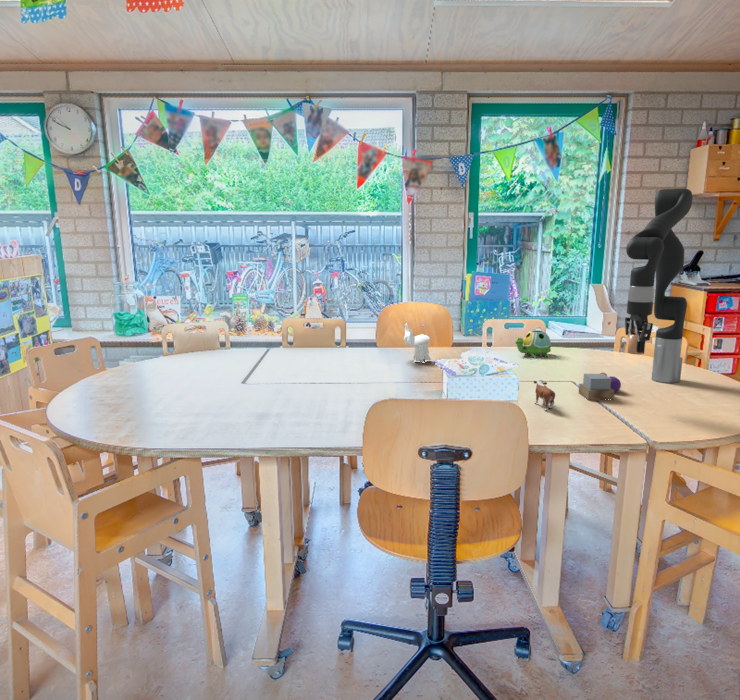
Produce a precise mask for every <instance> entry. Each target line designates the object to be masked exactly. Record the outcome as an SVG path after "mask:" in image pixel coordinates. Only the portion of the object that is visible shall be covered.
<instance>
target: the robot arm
mask: <svg viewBox="0 0 740 700" xmlns="http://www.w3.org/2000/svg"><path fill="white" fill-rule="evenodd" d="M692 203H693V192H692V191H691V190H690V189H688V188H664V189H663V188H662V189H659V190H658V191H657V192H656V194H655V199H654V217H653V218H652V219H650V221H649V222H647V225H645V227H644V229H643V230H641V231H639V232H638V233H636V234H635V235H634V236H632V237H631V238H630V239H629V241H628V243H627V245H626V248H625V249H626V250H625V252H626V255H627V256H628V258H630V259H631V260H644V261H647V263H646V264H645V265H643V266H638V267H633V268H632V269H631V271H630V279H629V280H630V281H629V289H628V292H627V293H628V294H627V302H626V303H627V304H626V313H627V314H628V315H630V316H627V317H625V318H624V327H625V328H624V329H625V330H624V331H625V336H627V338H628V339H629V334H636V335H637V340H638V341H637V352H638V353H643V352H644V353H645V351H644V348H645V347H646V342H647V341H650V340H651V336H652V335H651V334H652V330H653V328H654V327H653V326H654V323H652V322H649V319H648V316H651V315H652V314H654V318H656V320H661V321H674V323H673V324H671V325H669V326H666V327H662V328H657V329H656V332H655V339H654V349H653V357H652V358H653V360H652V371H651V380H652V381H655V382H659V383H666V384H674V383H675V384H676V383H679V382H681V379H682V378H681V377H682V376H681V374H682V367H683V360H684V359H683V357H681V353H682V345H683V338H684V337H683V336H684V335H683V333H684V327H685V326H684V325H685V321H686V313H687V307H688V303H687V302H688V301H687V299H686V297H684V296H667V295H666V291H667V289H668V288H669V286H670V284H671V283H672V282H673V281H674V280H675V278H676V277H677V276H678V275H679V274H680V272H681V271H682V270H683V268H684V265H685V264H684V263H685V248H684V245H683V243H682V241H681V240H680V239H679V238H678V236H677V234H676V233H675V232H674V230H673V229H672V228H674V227H675V226H676V225H677V224H678V223H679V222H680V221H681V220H682V219H684V218H685V217H686V215H688V213H689V212H690V210H691V208H692V205H693V204H692ZM654 286H655V287H654ZM654 288H655V289H654ZM640 335H641V337H640Z"/></svg>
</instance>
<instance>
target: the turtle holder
mask: <svg viewBox="0 0 740 700" xmlns="http://www.w3.org/2000/svg"><path fill="white" fill-rule="evenodd" d="M515 344H516V348H517V350H518V352H520V353H521V354H524V353H527V354H530V357H531V358H533V357H537V358H538V356H537V354H539V355H543V357H545V356H547V357H548V356H549V357H550V354H548V353H550V352H551V351H552V349H551V348H552V342H551V338H550V337H549V335H548V334H547V332H546V331H545V330H542V329H539V330H537V329H536V330H534V329H533V330H532V329H531V330H529V331H528V333H527V334H525V336H524V338H522V337H520V336H518V337H517V338H516V340H515ZM547 357H546V358H547ZM549 357H548V358H549Z"/></svg>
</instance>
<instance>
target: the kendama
mask: <svg viewBox="0 0 740 700" xmlns="http://www.w3.org/2000/svg"><path fill="white" fill-rule="evenodd" d="M599 374H605V375H606V376H608V374H607V373H606V372H600V373H599ZM608 377H609V378H611V387H610V388H612V389H613V390H615V391H614V393H617V392H618V391H620V389H621V387H622V384H621V383H622V382H621V380H620V379H619V378H617V377H616V376H608Z"/></svg>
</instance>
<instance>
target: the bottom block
mask: <svg viewBox="0 0 740 700" xmlns="http://www.w3.org/2000/svg"><path fill="white" fill-rule="evenodd" d="M614 391H615V390H613V389H612V388H610V390H590V389H589V388H587V387H586V386H585V385H583V383H578V394H579V395H580V396H581V397H583V398H584V399H585V398H586V400H587V401H614V400H615V392H614ZM605 399H606V400H605ZM608 399H609V400H608ZM610 399H611V400H610Z"/></svg>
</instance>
